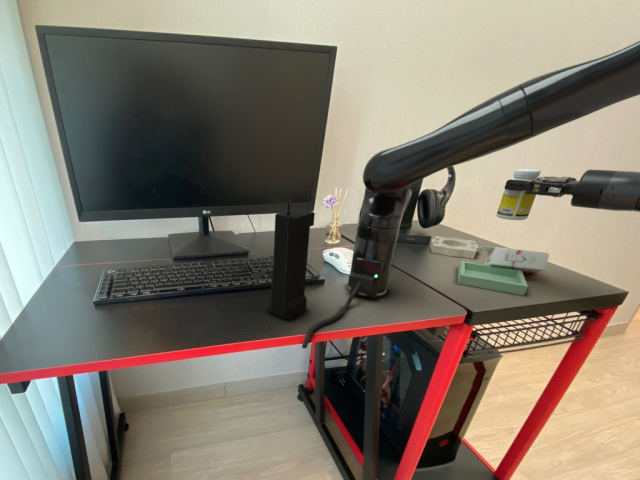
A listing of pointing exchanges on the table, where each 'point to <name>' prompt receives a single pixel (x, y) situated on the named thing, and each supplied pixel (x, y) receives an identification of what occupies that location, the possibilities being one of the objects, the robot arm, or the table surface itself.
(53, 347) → the table surface
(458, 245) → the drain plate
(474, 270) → the basin tray
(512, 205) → the pill bottle
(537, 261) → the ink cartridge box
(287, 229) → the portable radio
